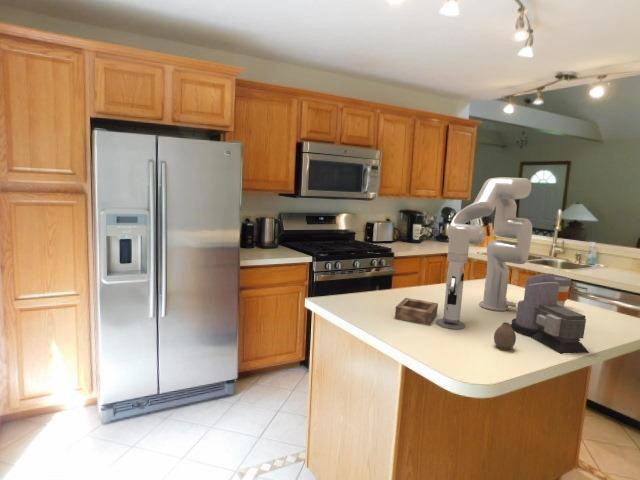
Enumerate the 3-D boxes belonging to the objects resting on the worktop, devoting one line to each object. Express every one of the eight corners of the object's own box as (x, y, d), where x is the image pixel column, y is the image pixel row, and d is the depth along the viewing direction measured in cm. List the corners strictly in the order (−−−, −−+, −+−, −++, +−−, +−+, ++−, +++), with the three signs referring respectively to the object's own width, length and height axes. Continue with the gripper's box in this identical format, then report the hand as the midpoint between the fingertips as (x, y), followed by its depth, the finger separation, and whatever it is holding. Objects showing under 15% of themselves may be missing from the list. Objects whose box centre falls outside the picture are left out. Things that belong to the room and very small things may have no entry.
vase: (489, 343, 146) (492, 319, 145) (507, 343, 147) (510, 320, 145) (499, 351, 139) (502, 326, 138) (518, 352, 140) (521, 327, 138)
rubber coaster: (466, 323, 166) (466, 321, 166) (463, 331, 157) (463, 330, 156) (438, 318, 171) (438, 316, 171) (433, 325, 161) (433, 324, 161)
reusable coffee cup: (571, 309, 195) (576, 278, 193) (559, 313, 188) (564, 281, 186) (544, 302, 205) (548, 273, 203) (532, 306, 198) (536, 275, 196)
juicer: (500, 323, 169) (507, 265, 165) (534, 323, 172) (542, 266, 169) (555, 354, 140) (565, 284, 136) (594, 352, 143) (605, 284, 140)
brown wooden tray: (436, 314, 176) (438, 303, 175) (429, 325, 161) (430, 313, 161) (404, 308, 182) (405, 297, 181) (394, 318, 167) (395, 306, 167)
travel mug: (457, 318, 167) (462, 270, 164) (461, 323, 160) (466, 273, 158) (441, 317, 167) (446, 269, 165) (444, 322, 161) (449, 272, 158)
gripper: (450, 253, 169) (446, 295, 172) (443, 259, 154) (439, 305, 157) (470, 255, 166) (465, 298, 169) (464, 262, 151) (459, 309, 153)
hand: (452, 301), depth 163 cm, fingers closed on travel mug, 6 cm apart
